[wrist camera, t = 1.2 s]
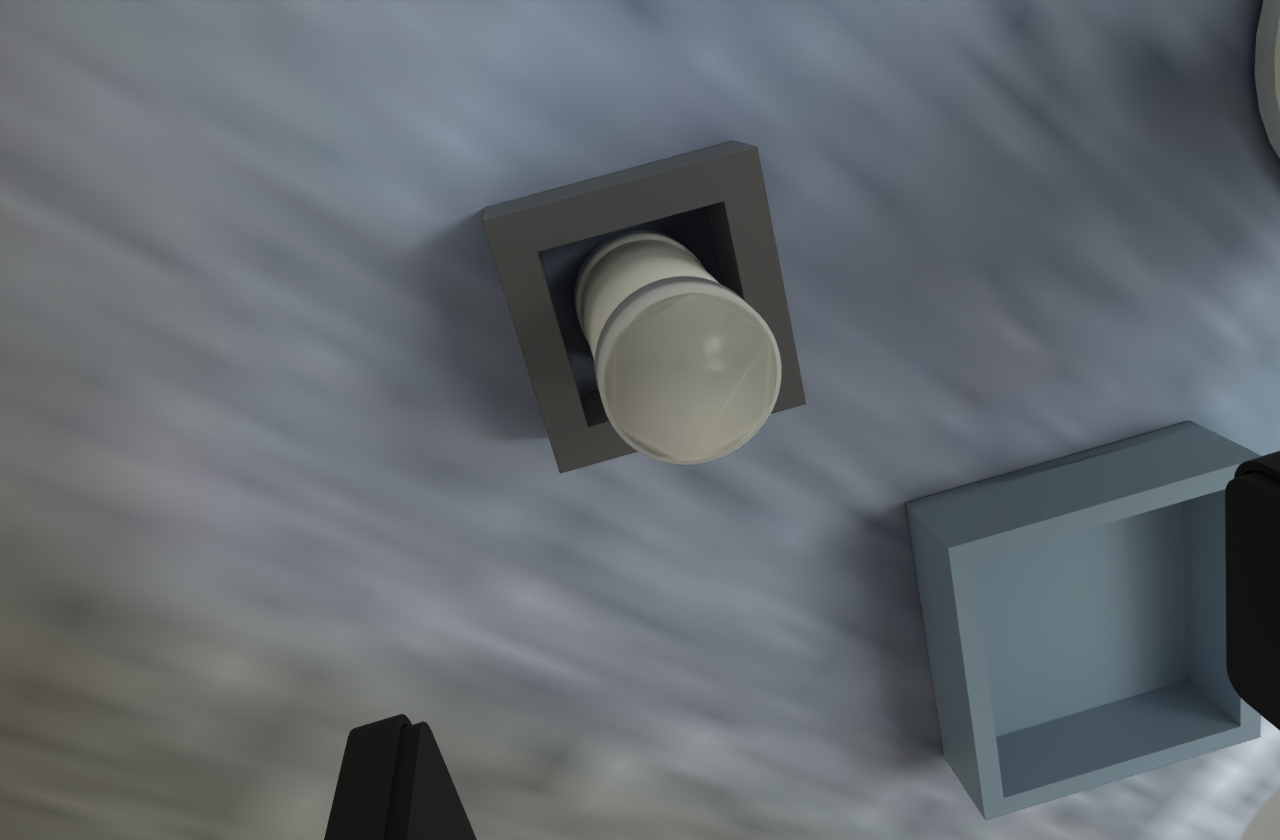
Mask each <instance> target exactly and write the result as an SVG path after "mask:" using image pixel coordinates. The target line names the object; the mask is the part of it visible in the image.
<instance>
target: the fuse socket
mask: <svg viewBox="0 0 1280 840" xmlns="http://www.w3.org/2000/svg"><path fill="white" fill-rule="evenodd" d="M704 206H707V211H708V215H709V220H710V225H711V229H712V234H713V238H714V243H715V248H716V252H717V257H718V262H719V266H720V271H721V276H722V280H723V285H724V286H725V287H727V288H729V289H730V290H732V291H733V292H735V293H736V294H737V295H738V296H739V297H741V298H742V299H743V300H744V301H745V302H746V303H747V304H748V305H749V306H750V307H751V308H753V309H754V310H755V311H756V312H757V313H758V314H759V315H760V316H761V317H762V319H763V320H764V321H765V322H766V324H767V325H768V327H769V328H770V330H771V332H772V333H773V336H774V338H775V340H776V343H777V346H778V349H779V353H780V359H781V384H780V390H779V393H778V397H777V400H776V403H775V405H774V408H773V410H772V412H771V414H772V413H776V412H779V411H783V410H786V409H790V408H793V407H797V406H800V405H804V404H806V401H805V396H804V390H803V385H802V380H801V375H800V369H799V364H798V359H797V354H796V348H795V343H794V338H793V333H792V327H791V322H790V317H789V312H788V307H787V301H786V296H785V291H784V286H783V280H782V275H781V270H780V265H779V259H778V254H777V249H776V244H775V238H774V233H773V228H772V223H771V217H770V212H769V207H768V202H767V196H766V191H765V186H764V181H763V175H762V170H761V165H760V160H759V154H758V149H757V146H753V145H748V144H744V143H740V142H736V141H729V142H725V143H721V144H718V145H714V146H710V147H707V148H703V149H699V150H695V151H692V152H688V153H684V154H681V155H677V156H673V157H670V158H666V159H662V160H659V161H655V162H651V163H647V164H644V165H640V166H636V167H633V168H629V169H625V170H622V171H618V172H614V173H610V174H607V175H603V176H599V177H596V178H592V179H588V180H585V181H581V182H577V183H574V184H570V185H566V186H562V187H559V188H555V189H551V190H548V191H544V192H540V193H537V194H533V195H529V196H525V197H522V198H518V199H514V200H511V201H507V202H503V203H500V204H496V205H492V206H489V207H485V210H484V215H483V220H482V222H483V225H484V229H485V232H486V235H487V238H488V242H489V245H490V248H491V251H492V255H493V258H494V261H495V264H496V268H497V271H498V274H499V277H500V280H501V284H502V287H503V290H504V293H505V297H506V300H507V303H508V306H509V310H510V313H511V316H512V319H513V323H514V326H515V329H516V332H517V336H518V339H519V342H520V345H521V349H522V352H523V355H524V358H525V362H526V365H527V368H528V371H529V375H530V378H531V381H532V384H533V387H534V391H535V394H536V397H537V400H538V404H539V407H540V410H541V413H542V417H543V420H544V423H545V426H546V430H547V433H548V436H549V439H550V443H551V446H552V449H553V452H554V456H555V459H556V462H557V465H558V469H559V472H560V473H563V472H567V471H571V470H574V469H578V468H581V467H585V466H588V465H592V464H595V463H599V462H602V461H606V460H609V459H613V458H617V457H620V456H624V455H627V454H631V453H634V452H638V451H637V450H635V449H634V448H632V447H631V446H630V445H629V444H627V443H626V442H625V441H624V440H623V439H622V438H621V436H620V435H619V434H618V433H617V432H616V430H615V429H614V427H613V426H612V424H611V423H610V421H609V419H608V417H607V415H606V412H605V409H604V406H603V403H602V400H601V396H600V393H599V390H598V391H595V392H591V393H588V394H584V395H580V391H579V388H578V384H577V381H576V377H575V374H574V370H573V367H572V363H571V360H570V357H569V353H568V350H567V346H566V343H565V339H564V336H563V332H562V329H561V325H560V322H559V318H558V315H557V312H556V308H555V305H554V301H553V298H552V294H551V291H550V287H549V284H548V280H547V277H546V273H545V270H544V267H543V263H542V260H541V256H540V253H539V252H540V251H543V250H547V249H551V248H554V247H558V246H562V245H565V244H569V243H573V242H576V241H580V240H584V239H587V238H591V237H595V236H598V235H602V234H606V233H609V232H613V231H617V230H620V229H624V228H628V227H631V226H635V225H639V224H642V223H646V222H650V221H653V220H657V219H660V218H664V217H668V216H671V215H675V214H679V213H682V212H686V211H690V210H693V209H697V208H701V207H704Z"/></svg>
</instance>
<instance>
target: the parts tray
mask: <svg viewBox="0 0 1280 840" xmlns="http://www.w3.org/2000/svg"><path fill="white" fill-rule="evenodd" d="M1258 457H1262V456H1261V455H1259V454H1257V453H1255V452H1253V451H1251V450H1249V449H1247V448H1245V447H1243V446H1241V445H1239V444H1236V443H1234V442H1232V441H1230V440H1228V439H1226V438H1224V437H1222V436H1220V435H1218V434H1216V433H1214V432H1212V431H1210V430H1208V429H1206V428H1204V427H1202V426H1200V425H1198V424H1196V423H1194V422H1192V421H1187V422H1184V423H1180V424H1177V425H1173V426H1170V427H1166V428H1163V429H1159V430H1156V431H1152V432H1149V433H1145V434H1142V435H1139V436H1135V437H1132V438H1128V439H1125V440H1121V441H1118V442H1114V443H1111V444H1107V445H1104V446H1100V447H1097V448H1093V449H1090V450H1086V451H1083V452H1080V453H1076V454H1073V455H1069V456H1066V457H1062V458H1059V459H1055V460H1052V461H1048V462H1045V463H1041V464H1038V465H1034V466H1031V467H1028V468H1024V469H1021V470H1017V471H1014V472H1010V473H1007V474H1003V475H1000V476H996V477H993V478H989V479H986V480H982V481H979V482H975V483H972V484H969V485H965V486H962V487H958V488H955V489H951V490H948V491H944V492H941V493H937V494H934V495H930V496H927V497H923V498H920V499H917V500H913V501H910V502H906V503H905V506H906V512H907V519H908V525H909V532H910V538H911V545H912V552H913V558H914V565H915V571H916V578H917V584H918V591H919V597H920V604H921V610H922V617H923V623H924V630H925V636H926V643H927V649H928V656H929V662H930V669H931V675H932V682H933V688H934V695H935V701H936V708H937V714H938V721H939V727H940V734H941V740H942V747H943V753H944V757H945V759H946V760H947V762H948V763H949V765H950V766H951V768H952V770H953V771H954V773H955V774H956V776H957V777H958V779H959V780H960V782H961V783H962V785H963V787H964V788H965V790H966V791H967V793H968V794H969V796H970V797H971V799H972V800H973V802H974V804H975V805H976V807H977V808H978V810H979V811H980V813H981V814H982V816H983V817H984V819H985V820H988V819H991V818H995V817H998V816H1001V815H1005V814H1008V813H1011V812H1015V811H1018V810H1021V809H1024V808H1028V807H1031V806H1034V805H1038V804H1041V803H1044V802H1048V801H1051V800H1054V799H1057V798H1061V797H1064V796H1067V795H1071V794H1074V793H1077V792H1081V791H1084V790H1087V789H1090V788H1094V787H1097V786H1100V785H1104V784H1107V783H1110V782H1114V781H1117V780H1120V779H1123V778H1127V777H1130V776H1133V775H1137V774H1140V773H1143V772H1147V771H1150V770H1153V769H1156V768H1160V767H1163V766H1166V765H1170V764H1173V763H1176V762H1180V761H1183V760H1186V759H1189V758H1193V757H1196V756H1199V755H1203V754H1206V753H1209V752H1213V751H1216V750H1219V749H1222V748H1226V747H1229V746H1232V745H1236V744H1239V743H1242V742H1245V741H1249V740H1252V739H1255V738H1259V737H1260V720H1261V715H1260V714H1259V713H1258V712H1257V711H1256V710H1254V709H1253V708H1252V707H1251V706H1249V705H1248V704H1247V703H1246V702H1245V701H1244V700H1243V699H1242V698H1241V697H1240V696H1239V695H1238V694H1237V692H1236V691H1235V690H1234V688H1233V686H1232V684H1231V682H1230V680H1229V677H1228V674H1227V668H1226V560H1225V490H1226V486H1227V484H1228V482H1229V481H1230V480H1232V479H1233V478H1234V474H1235V471H1236V469H1237V468H1238V466H1239V465H1240V464H1242V463H1243V462H1245V461H1248V460H1252V459H1255V458H1258Z"/></svg>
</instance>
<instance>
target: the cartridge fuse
mask: <svg viewBox="0 0 1280 840" xmlns="http://www.w3.org/2000/svg"><path fill="white" fill-rule="evenodd" d="M574 300H575V308H576V313H577V316H578V320H579V323H580V326H581V329H582V332H583V334H584V336H585V338H586V340H587V341H588V343H589V345H590V348H591V352H592V355H593V358H594V362H595V376H596V381H597V386H598V389H599V393H600V396H601V400H602V403H603V406H604V409H605V412H606V415H607V417H608V419H609V421H610V423H611V424H612V426H613V427H614V429H615V430H616V432H617V433H618V434H619V435H620V436H621V438H622V439H623V440H624V441H625V442H626V443H627V444H629V445H630V446H631V447H632V448H634V449H635V450H637V451H638V452H640V453H642V454H643V455H645V456H648V457H650V458H652V459H654V460H658V461H661V462H665V463H671V464H678V465H691V464H701V463H705V462H710V461H713V460H716V459H719V458H722V457H724V456H726V455H728V454H730V453H732V452H734V451H735V450H737V449H738V448H740V447H742V446H743V445H744V444H745V443H747V442H748V441H749V440H750V439H751V438H752V437H753V436H754V435H755V434H756V433H757V432H758V431H759V430H760V429H761V427H762V426H763V425H764V423H765V422H766V421H767V419H768V417H769V415H770V414H771V412H772V410H773V408H774V405H775V403H776V400H777V397H778V393H779V390H780V384H781V359H780V353H779V349H778V346H777V343H776V340H775V338H774V336H773V333H772V332H771V330H770V328H769V327H768V325H767V324H766V322H765V321H764V320H763V319H762V317H761V316H760V315H759V314H758V313H757V312H756V311H755V310H754V309H753V308H751V307H750V306H749V305H748V304H747V303H746V302H745V301H744V300H743V299H742V298H741V297H739V296H738V295H737V294H736V293H735V292H733V291H732V290H730V289H729V288H727V287H725V286H723V285H721V284H720V283H718V282H717V281H716V280H715V279H714V278H713V277H712V276H711V275H710V274H709V273H708V272H707V271H706V270H705V268H704V267H703V265H702V264H701V262H700V261H699V260H698V259H697V257H696V256H695V255H694V254H692V253H691V252H690V251H689V250H688V249H687V248H686V247H685V246H684V245H683V244H682V243H680V242H679V241H677V240H676V239H675V238H673V237H671V236H669V235H667V234H664V233H661V232H658V231H654V230H646V229H636V230H629V231H624V232H621V233H618V234H615V235H613V236H611V237H609V238H607V239H606V240H604V241H603V242H601V243H600V244H599V245H598V246H597V247H595V248H594V249H593V250H592V252H591V253H590V254H589V255H588V256H587V258H586V259H585V261H584V262H583V264H582V266H581V268H580V270H579V273H578V276H577V279H576V284H575V291H574Z"/></svg>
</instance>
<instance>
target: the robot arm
mask: <svg viewBox="0 0 1280 840" xmlns="http://www.w3.org/2000/svg"><path fill="white" fill-rule="evenodd" d="M1255 82H1256V89H1257V97H1258V105H1259V112H1260V115H1261V118H1262V120H1263V123H1264V126H1265V129H1266V132H1267V135H1268V138H1269V141H1270V144H1271V145H1272V147H1273V149H1274V150H1275V152H1276V153H1277V155H1278V157H1279V158H1280V0H1263V5H1262V10H1261V15H1260V20H1259V24H1258V29H1257V34H1256V54H1255ZM1225 560H1226V668H1227V674H1228V677H1229V680H1230V682H1231V684H1232V686H1233V688H1234V690H1235V691H1236V692H1237V694H1238V695H1239V696H1240V697H1241V698H1242V699H1243V700H1244V701H1245V702H1246V703H1247V704H1248V705H1249V706H1251V707H1252V708H1253V709H1254V710H1256V711H1257V712H1258V713H1259V714H1260V715H1262V716H1263V717H1264V718H1265V719H1267V720H1268V721H1269V722H1270V723H1271V724H1273V725H1274V726H1275V727H1276V728H1278V729H1279V730H1280V451H1278V452H1275V453H1272V454H1268V455H1265V456H1262V457H1258V458H1255V459H1252V460H1248V461H1245V462H1243V463H1242V464H1240V465H1239V466H1238V468H1237V469H1236V471H1235V474H1234V478H1233V479H1232V480H1230V481H1229V482H1228V484H1227V486H1226V490H1225ZM324 840H477V839H476V837H475V834H474V832H473V830H472V827H471V825H470V822H469V820H468V817H467V815H466V813H465V810H464V808H463V805H462V803H461V801H460V798H459V796H458V793H457V791H456V789H455V786H454V784H453V781H452V779H451V777H450V774H449V772H448V769H447V767H446V764H445V762H444V760H443V757H442V755H441V752H440V750H439V748H438V745H437V743H436V740H435V738H434V736H433V733H432V731H431V729H430V727H429V725H428V724H427V723H426V722H421V723H417V724H414V725H412V724H411V722H410V720H409V719H408V718H407V716H406V715H403V714H400V715H397V716H393V717H390V718H387V719H383V720H380V721H377V722H373V723H370V724H367V725H363V726H360V727H357V728H354V729H352V730H351V731H350V734H349V736H348V739H347V744H346V748H345V752H344V756H343V761H342V765H341V769H340V774H339V778H338V782H337V787H336V791H335V795H334V800H333V804H332V808H331V812H330V817H329V821H328V825H327V830H326V834H325V838H324Z"/></svg>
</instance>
